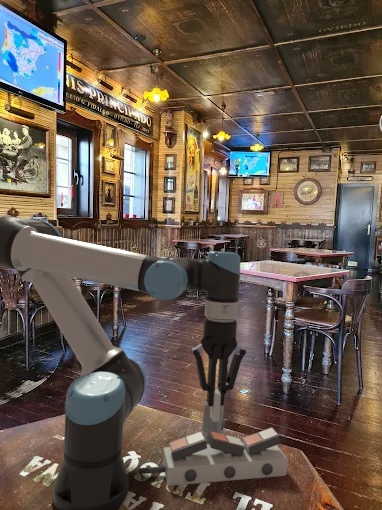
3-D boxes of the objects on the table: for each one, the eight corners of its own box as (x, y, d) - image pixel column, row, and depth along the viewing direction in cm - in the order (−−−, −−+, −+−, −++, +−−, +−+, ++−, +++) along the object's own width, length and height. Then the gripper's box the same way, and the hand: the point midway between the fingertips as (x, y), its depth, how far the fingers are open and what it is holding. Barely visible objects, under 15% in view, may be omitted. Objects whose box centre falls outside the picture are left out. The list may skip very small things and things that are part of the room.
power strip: (139, 489, 79) (141, 466, 79) (137, 465, 87) (138, 444, 87) (287, 476, 86) (288, 455, 86) (272, 455, 94) (273, 436, 94)
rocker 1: (173, 460, 83) (171, 451, 82) (170, 450, 87) (168, 442, 86) (207, 448, 84) (205, 439, 84) (203, 438, 88) (201, 430, 88)
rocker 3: (249, 455, 86) (247, 446, 86) (243, 445, 90) (242, 437, 90) (280, 443, 88) (279, 435, 88) (273, 434, 92) (271, 426, 92)
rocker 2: (210, 448, 84) (213, 439, 84) (206, 438, 88) (209, 430, 88) (242, 455, 86) (245, 446, 86) (236, 446, 90) (239, 437, 90)
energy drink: (221, 442, 99) (224, 398, 99) (221, 454, 94) (224, 407, 93) (201, 440, 100) (204, 396, 99) (200, 452, 94) (203, 405, 94)
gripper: (196, 321, 80) (190, 428, 81) (253, 322, 83) (246, 425, 84) (189, 314, 88) (183, 412, 89) (241, 315, 91) (235, 410, 91)
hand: (214, 418), depth 86 cm, fingers closed
